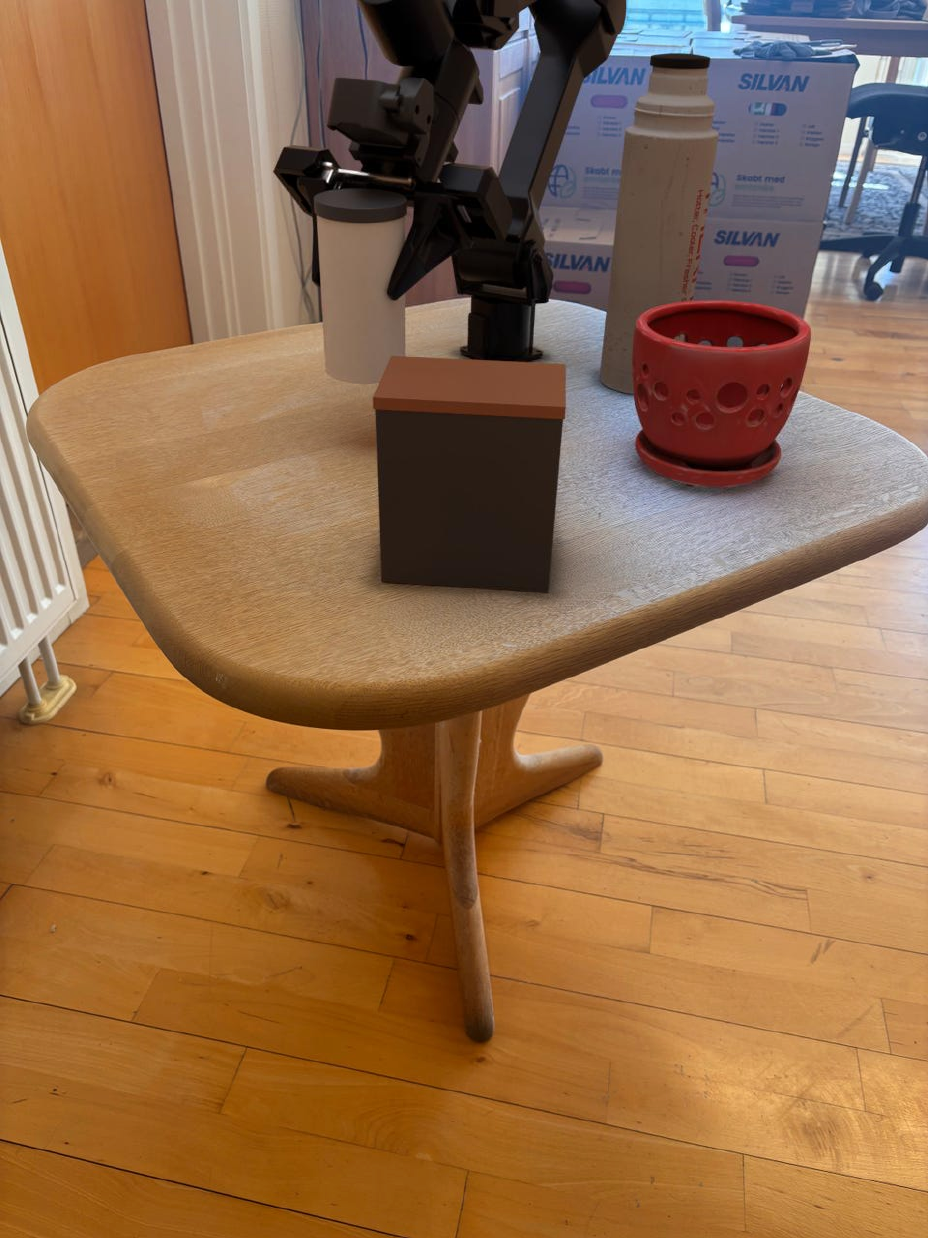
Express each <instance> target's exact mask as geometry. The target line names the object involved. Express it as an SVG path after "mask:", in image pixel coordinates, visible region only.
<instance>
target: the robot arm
mask: <svg viewBox="0 0 928 1238" xmlns="http://www.w3.org/2000/svg"><path fill="white" fill-rule="evenodd" d="M355 1H356V4H357V5H358V7H359V9H360V11H361V13H362V15H363V18H364V19H365V21H366V23H367V25H368V27H369V29H370V32H371V33H372V35H373V37H374V39H375V42H376V43H377V45H378V48H379V49H380V52H381V53H382V56H383V57H384V58H385V59H386V60H387V61H388V62H389V63H391V64H392V65H395V66H398V67H401V69H400V70H399V73H398V76H397V79H396V81H395V83H388V82H385V81H382V80H375V79H365V78H364V79H363V78H352V77H351V78H350V77H336V78H334V80H333V86H332V90H331V91H332V92H331V97H330V104H329V108H328V115H327V121H326V127H327V128H328V129H329V130H331V131H332V132H334V131H336V132H338V133H339V134H341V135H343V136H344V137H345V138H347V139H348V140H350V144H349V147H348V149H347V151H348V152H349V153H350V155H351V157H352V158H353V160H354V161H358V162H360V164H361V167H360V170H352V169H344V168H342V167H341V166H340V164H339V163H338V161H337V159H336V158H335V157H334V155H333V153H332V152H331V150H330V149H329V148H324V147H314V146H306V145H295V144H293V145H288V146H283V148H282V150H281V151H280V154H279V156H278V159H277V161H276V164H275V166H274V168H273V171H272V173H273V174H274V175H275V176H276V178H277V179H278V180H279V182H280V183H281V185H282V186H283V187H284V188H285V190H286V191H287V192H288V194H289V195H290V196H291V198H292V199H293V200H294V202H295V203H296V204H297V205H298V207H299V209H300V210H301V211H302V212H303V213H304V214H305V215H307V216H309V217H311V218H312V219H311V220H312V255H311V281H312V283H313V284H314V285H315V286H316V287H317V288H321V283H320V264H319V246H318V228H317V215H316V214H315V210H314V197H315V196H316V195H317V194H319V193H322V192H325V191H330V190H337V189H351V188H363V189H378V190H385V191H391V192H395V193H398V194H401V195H403V196H405V197H406V199H407V209H412V210H413V213H412V222H411V226H410V228H409V231H408V233H407V236H406V237H405V243H404V245H403V248H402V250H401V253H400V255H399V258H398V260H397V262H396V265H395V267H394V270H393V272H392V275H391V279H390V282H389V286H388V289H387V295H388V296H389V298H390V299H391V300H393V301H396V300H398V299H399V298H400V297H401V296H402V295H403V294H405V295H406V293H407V292H408V291H410V290H411V288H413V287H414V286H415V285H417V283H419V282H420V281H421V280H422V279H423V278H424V277H425V276H427V275H428V274H429V273H430V272H432V271H433V270H434V269H435V268H436V267H438V266H439V265H441V264H443V263H444V262H445V261H446V260H448V259H449V258H450V257H451V262H452V263H451V265H452V268H453V275H454V281H455V287H456V291H457V292H456V294H457V295H460V296H465V295H466V296H470V312H468V315H467V343H466V344H467V345H463V346H460V347H459V353H461V354H463V355H466V356H468V357H470V358H472V359H474V360H490V361H510V362H528V361H531V360H534V359H538V358H542V357H543V356H544V351H543V350H541V349H540V348H537V347H534V335H535V322H536V321H535V320H536V319H535V318H536V306H537V305H540V304H541V305H542V304H547V303H549V302H550V296H551V292H552V289H553V286H554V285H553V282H554V275H555V274H554V271H553V269H552V266H551V263H550V261H549V259H548V257H547V254H546V251H545V249H544V248H545V243H546V237H545V233H544V229H543V226H542V221H541V216H540V208H541V205H542V202H543V199H544V196H545V193H546V191H547V187H548V184H549V181H550V178H551V176H552V173H553V170H554V168H555V167H554V166H555V164H556V161H557V158H558V155H559V152H560V150H561V146H562V143H563V141H564V139H565V138H564V137H565V135H566V132H567V129H568V125H569V123H570V121H571V118H572V114H573V112H574V108H575V105H576V103H577V100H578V97H579V94H580V91H581V88H582V85H583V83H584V80H586V78H587V77H589V76H590V75H591V74H592V73H594V71H596V70H597V69H598V68H599V67H600V66H601V65H603V64H604V63H605V62H606V61H607V60H608V58H609V57H610V55H611V52H612V50H613V48H614V46H615V43H616V42H617V41H616V40H617V38H618V37H619V35H620V34H621V33H622V32H623V29H624V27H625V23H626V17H627V8H628V7H627V0H355ZM527 8H528V10H529V13H530V15H531V16H532V18H533V28H534V33H535V36H536V40H537V44H538V48H539V56H538V60H537V61H536V65H535V68H534V71H533V75H532V77H531V80H530V83H529V85H528V89H527V92H526V94H525V97H524V100H523V103H522V106H521V108H520V112H519V114H518V118H517V120H516V122H515V126H514V129H513V132H512V135H511V137H510V141H509V142H508V146H507V149H506V152H505V155H504V158H503V160H502V163H501V166H500V169H499V172H498V175H497V173H496V171H495V170H494V167H493V166H486V165H476V164H467V163H460V162H459V163H458V162H456V160H457V158H458V155H459V154H460V153H459V152H460V151H459V149H458V147H457V145H456V142H455V141H454V140H455V138H456V135H457V132H458V130H459V127H460V125H461V123H462V120H463V117H464V115H465V113H466V110H467V108H468V106H469V105H476V106H481V105H482V104H483V103H484V98H485V97H484V86H483V84H482V83H481V79H480V68H479V65H478V63H477V60H476V58H475V57H476V56H475V55H474V53H473V51H472V50H479V51H500V50H501V49H503V48H504V47H505V46H506V44H508V42H509V41H510V40H511V39H512V37H513V36H514V35H515V34H516V33H517V32H518V30H519V29H520V13H521V12H522V11H524V10H525V9H527Z"/></svg>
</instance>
